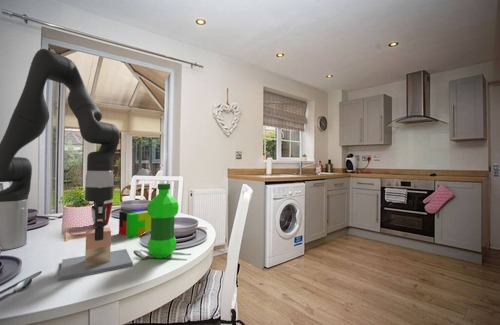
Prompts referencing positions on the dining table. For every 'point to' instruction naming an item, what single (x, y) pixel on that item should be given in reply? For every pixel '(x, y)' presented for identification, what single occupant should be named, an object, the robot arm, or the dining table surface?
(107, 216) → the plastic cup
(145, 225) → the puzzle toy
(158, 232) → the plastic bottle
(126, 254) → the baseplate
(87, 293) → the dining table surface
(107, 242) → the terracotta block
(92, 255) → the beech block
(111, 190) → the robot arm
